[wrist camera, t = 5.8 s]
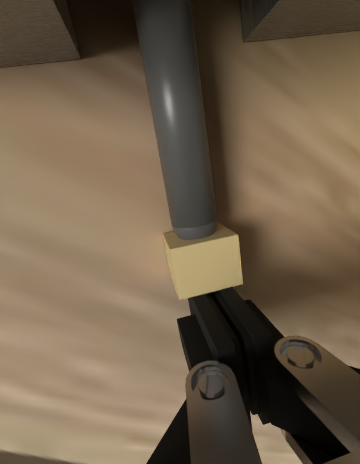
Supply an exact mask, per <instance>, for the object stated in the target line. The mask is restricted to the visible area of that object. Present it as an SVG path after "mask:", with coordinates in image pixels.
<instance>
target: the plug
mask: <svg viewBox="0 0 360 464" xmlns="http://www.w3.org/2000/svg"><path fill="white" fill-rule="evenodd" d="M132 4H133V10H134V15H135V21H136V26H137V32H138V38H139V43H140V49H141V54H142V60H143V66H144V71H145V77H146V83H147V88H148V94H149V99H150V105H151V111H152V116H153V122H154V128H155V133H156V139H157V144H158V150H159V156H160V161H161V167H162V172H163V178H164V184H165V189H166V195H167V201H168V206H169V212H170V217H171V223H172V227H173V230H174V231H172V232H167V233H163V238H164V243H165V248H166V253H167V259H168V264H169V269H170V274H171V278H172V280H173V283H174V286H175V289H176V292H177V295H178V297H179V300H182V299H186V298H190V297H194V296H198V295H202V294H206V293H210V292H214V291H218V290H221V289H225V288H229V287H234V286H238V285H242V284H243V279H242V268H241V258H240V248H239V238H238V234H236V233H235V232H233V231H231V230H230V229H228V228H227V227H225V226H223V225H222V224H220V223H218V222H217V211H216V202H215V194H214V186H213V178H212V169H211V161H210V153H209V145H208V137H207V128H206V120H205V112H204V104H203V95H202V87H201V79H200V71H199V63H198V54H197V46H196V38H195V30H194V21H193V13H192V5H191V0H132Z"/></svg>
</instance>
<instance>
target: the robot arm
mask: <svg viewBox="0 0 360 464" xmlns="http://www.w3.org/2000/svg"><path fill="white" fill-rule="evenodd" d="M188 301H189V306H190V312H191V315H190V316H186V317H183V318H179V319H177V323H178V328H179V333H180V338H181V342H182V346H183V350H184V354H185V358H186V361H187V365H188V369H189V373H188V375H187V378H186V385H185V386H186V400H185V402H184V403H183V405H182V407H181V408H180V410H179V411H178V413H177V415H176V416H175V418H174V420H173V421H172V423H171V424H170V426H169V428H168V429H167V431H166V433H165V434H164V436H163V437H162V439H161V441H160V442H159V444H158V446H157V447H156V449H155V450H154V452H153V454H152V455H151V457H150V459H149V460H148V462H147V463H146V464H262V462H261V459H260V455H259V452H258V449H257V446H256V442H255V439H254V436H253V433H252V424H251V416H250V411H251V413H252V414H253V415H255V414H258V416H259V418H260V420H261V422H262V424H263V425H264V424H267V423H270V422H271V424H272V425H274V426H276V427H278V428H281V432H282V434H283V436H284V438H285V440H286V441H287V443H288V444H289V445H290V447H291V448H292V449H293V451H294V452H295V454H296V455H297V456H298V458H299V459H300V460H301V462H302V463H303V464H360V369H358V368H354V367H351V366H347V365H346V364H345V363H343V362H342V361H341V360H339V359H338V358H337V357H335V356H334V355H333V354H331V353H330V352H329V351H327V350H326V349H325V348H323V347H322V346H321V345H319V344H318V343H316V342H314V341H313V340H311V339H308V338H305V337H301V336H288V337H284V336H283V335H282V334H281V333H280V332H279V331H278V330H277V329H276V328H275V326H274V325H273V324H272V323H271V322H270V321H269V320H268V319H267V318H266V316H265V315H264V314H263V313H262V312H261V311H260V310H259V309H258V308H257V307H256V305H255V304H254V303H253V302H252V301H251V300H245V301H244V300H243V299H242V298H241V297H240V296H239V295H238V293H237V292H236V291H235V290H234V289H233V288H232V287H229V288H225V289H221V290H218V291H214V292H210V293H206V294H202V295H198V296H194V297H190V298H188Z"/></svg>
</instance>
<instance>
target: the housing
mask: <svg viewBox="0 0 360 464" xmlns="http://www.w3.org/2000/svg"><path fill="white" fill-rule="evenodd" d="M240 4H241V17H242V31H243V42H251V41H260V40H270V39H280V38H289V37H299V36H309V35H318V34H328V33H338V32H347V31H357V30H360V0H240ZM76 59H81V57H80V53H79V49H78V45H77V41H76V37H75V33H74V28H73V24H72V20H71V16H70V12H69V8H68V3H67V0H0V67H9V66H18V65H28V64H38V63H47V62H57V61H67V60H76Z"/></svg>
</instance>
